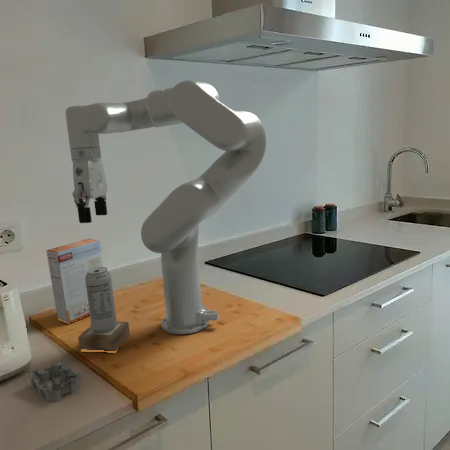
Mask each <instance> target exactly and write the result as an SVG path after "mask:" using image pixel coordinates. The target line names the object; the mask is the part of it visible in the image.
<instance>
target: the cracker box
mask: <svg viewBox="0 0 450 450" xmlns="http://www.w3.org/2000/svg"><path fill="white" fill-rule="evenodd" d="M101 246H102V245H101V239H100V240H99V239H94V238H85V239H82V240H79V241H75V242H71V243H68V244H64V245H60V246H57V247H53V248H49V249H47V250H46V256H47V263H48V268H49V274H50V281H51V287H52V291H53V299H54V305H55V310H56V317H57V319H58V318H59V319H61V320H63V321H66V322H68V323H69V322H72V321H75V320H78V319H80V318H82V317H85V316H87V317H89V316H88V315H90V312H89V305H88V298H87V290H86V283H85V277H86V275H87V271H88V270H89V269H92V268H97V267H105V266H104V261H103V253H102V252H103V251H102V247H101ZM85 318H86V317H85ZM80 320H81V319H80ZM78 321H79V320H78ZM75 322H76V321H75Z"/></svg>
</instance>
